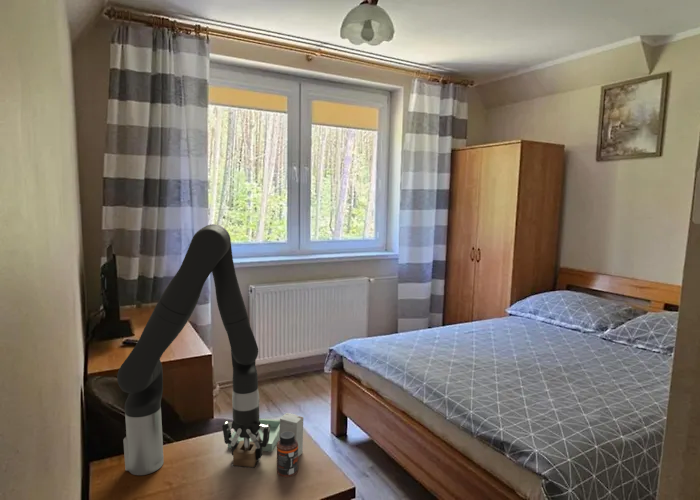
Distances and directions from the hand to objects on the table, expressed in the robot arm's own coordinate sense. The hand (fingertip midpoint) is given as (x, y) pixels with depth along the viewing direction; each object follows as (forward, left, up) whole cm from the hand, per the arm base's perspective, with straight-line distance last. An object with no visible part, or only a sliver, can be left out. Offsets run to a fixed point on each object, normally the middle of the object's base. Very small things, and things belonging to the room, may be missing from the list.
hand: (247, 457), depth 131 cm
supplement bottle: (+13, -3, -2) cm, 13 cm away
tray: (-1, +12, -1) cm, 12 cm away
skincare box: (+12, +5, -2) cm, 13 cm away
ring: (0, 0, -1) cm, 1 cm away
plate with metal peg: (0, 0, -1) cm, 1 cm away
